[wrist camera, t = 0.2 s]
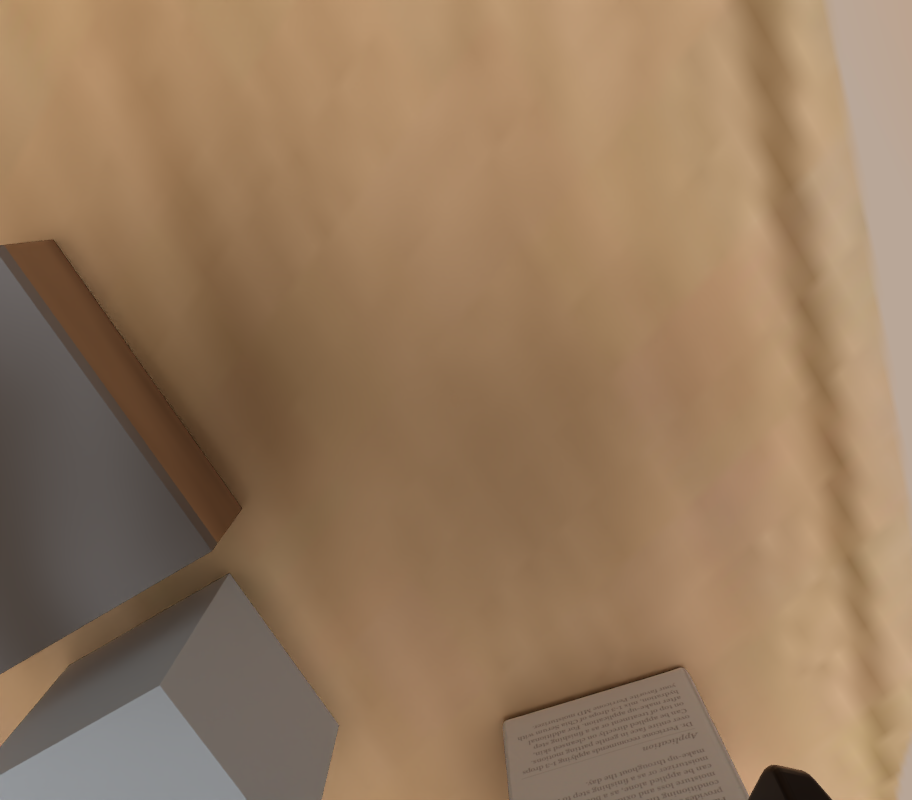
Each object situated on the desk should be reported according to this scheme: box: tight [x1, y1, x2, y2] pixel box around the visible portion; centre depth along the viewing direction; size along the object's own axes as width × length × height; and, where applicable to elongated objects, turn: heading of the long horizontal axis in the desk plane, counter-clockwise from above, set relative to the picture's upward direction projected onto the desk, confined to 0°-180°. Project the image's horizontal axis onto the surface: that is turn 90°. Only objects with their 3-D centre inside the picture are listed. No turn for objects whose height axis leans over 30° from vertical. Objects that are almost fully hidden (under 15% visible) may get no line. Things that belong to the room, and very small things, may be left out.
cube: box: [0, 573, 339, 800], centre depth 23 cm, size 6×6×6 cm
